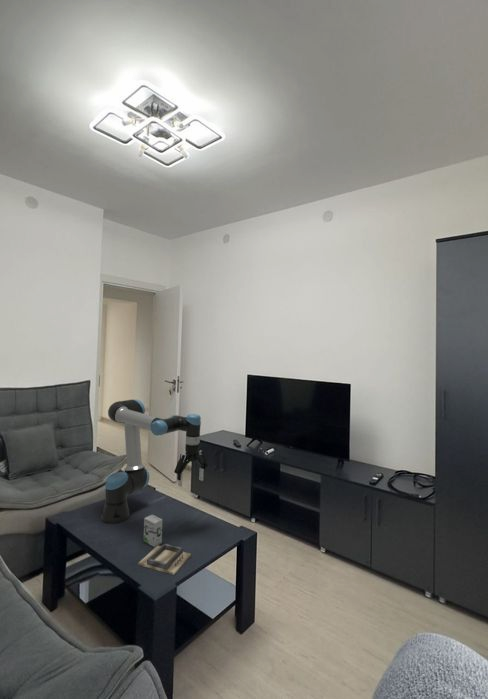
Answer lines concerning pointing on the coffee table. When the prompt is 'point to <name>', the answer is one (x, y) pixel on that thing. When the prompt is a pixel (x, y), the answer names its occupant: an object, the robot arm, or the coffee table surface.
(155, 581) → the coffee table surface
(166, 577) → the coffee table surface
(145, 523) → the ink box
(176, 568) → the header board
